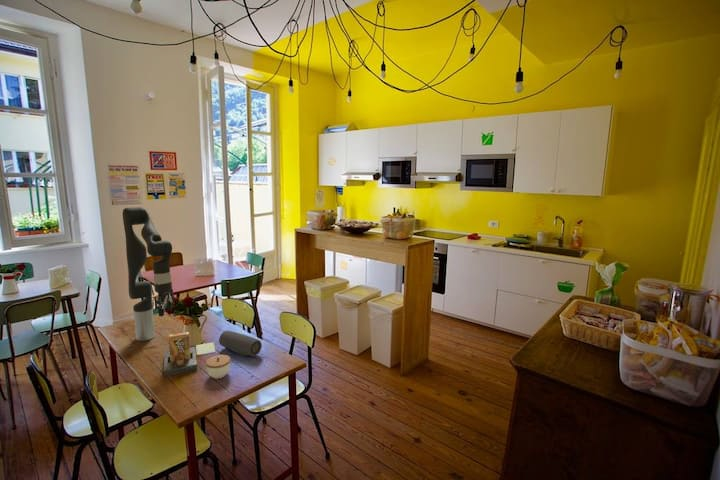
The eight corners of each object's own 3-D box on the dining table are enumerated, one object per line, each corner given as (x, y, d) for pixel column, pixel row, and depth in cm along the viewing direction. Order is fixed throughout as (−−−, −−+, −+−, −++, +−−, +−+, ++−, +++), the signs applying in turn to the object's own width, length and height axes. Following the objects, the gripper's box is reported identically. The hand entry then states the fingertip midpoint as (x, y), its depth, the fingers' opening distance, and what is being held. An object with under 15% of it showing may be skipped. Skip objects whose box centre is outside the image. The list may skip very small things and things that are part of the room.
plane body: (165, 356, 180) (164, 344, 179) (195, 351, 187) (194, 339, 185) (163, 376, 163) (162, 362, 162) (197, 370, 169) (196, 356, 168)
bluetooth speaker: (262, 353, 187) (262, 336, 185) (249, 361, 178) (249, 343, 177) (231, 343, 197) (231, 327, 195) (218, 350, 189) (217, 333, 187)
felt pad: (196, 345, 193) (195, 345, 193) (213, 342, 197) (213, 342, 197) (196, 355, 182) (196, 355, 182) (215, 352, 186) (215, 351, 186)
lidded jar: (212, 368, 171) (211, 350, 169) (234, 369, 170) (233, 351, 169) (202, 381, 160) (201, 362, 158) (225, 382, 160) (224, 363, 158)
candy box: (190, 359, 178) (188, 331, 176) (190, 363, 175) (189, 334, 172) (170, 363, 175) (169, 334, 172) (170, 367, 171) (168, 337, 168)
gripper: (162, 277, 179) (164, 308, 181) (147, 285, 165) (150, 318, 167) (177, 277, 179) (179, 308, 182) (163, 285, 165) (166, 317, 168)
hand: (165, 313), depth 174 cm, fingers open, 8 cm apart
